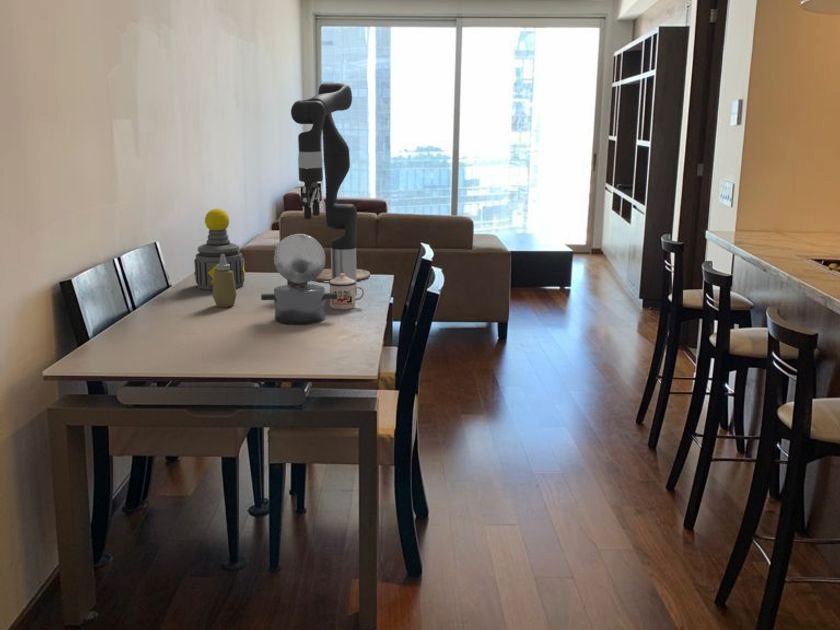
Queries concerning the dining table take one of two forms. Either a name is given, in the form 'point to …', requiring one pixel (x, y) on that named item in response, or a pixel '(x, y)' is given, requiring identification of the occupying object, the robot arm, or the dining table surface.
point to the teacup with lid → (344, 292)
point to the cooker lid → (299, 258)
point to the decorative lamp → (217, 252)
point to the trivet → (327, 275)
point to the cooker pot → (299, 303)
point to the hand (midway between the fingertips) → (312, 217)
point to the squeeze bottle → (224, 284)
